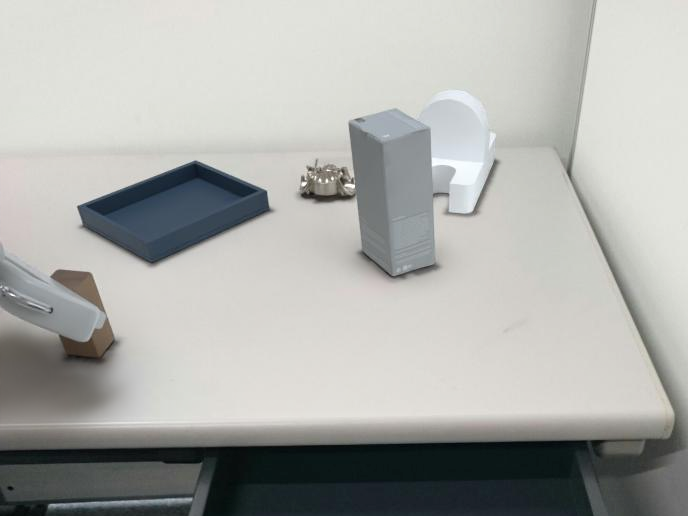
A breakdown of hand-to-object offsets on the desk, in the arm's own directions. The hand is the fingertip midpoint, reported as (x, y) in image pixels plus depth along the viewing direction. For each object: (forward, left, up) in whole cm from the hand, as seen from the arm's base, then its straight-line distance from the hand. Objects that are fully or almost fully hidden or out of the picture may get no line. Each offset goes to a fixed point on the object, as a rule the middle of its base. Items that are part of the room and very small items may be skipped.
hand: (82, 308), depth 76 cm
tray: (-18, +24, -4) cm, 31 cm away
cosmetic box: (+12, +35, -5) cm, 38 cm away
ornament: (-8, +43, -5) cm, 44 cm away
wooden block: (0, -1, -5) cm, 5 cm away
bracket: (+3, +57, -5) cm, 58 cm away
